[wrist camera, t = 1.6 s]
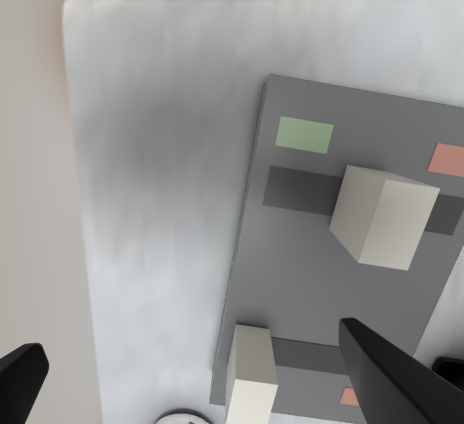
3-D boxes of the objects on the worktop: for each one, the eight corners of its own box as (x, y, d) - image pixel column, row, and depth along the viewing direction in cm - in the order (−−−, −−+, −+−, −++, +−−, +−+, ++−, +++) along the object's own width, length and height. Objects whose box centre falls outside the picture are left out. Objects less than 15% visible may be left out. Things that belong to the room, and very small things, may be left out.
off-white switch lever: (387, 171, 16) (440, 188, 12) (366, 234, 17) (407, 270, 13) (347, 164, 16) (386, 179, 12) (328, 228, 17) (358, 262, 13)
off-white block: (269, 329, 20) (278, 385, 15) (258, 372, 21) (264, 435, 17) (235, 324, 20) (235, 379, 15) (226, 368, 21) (224, 430, 17)
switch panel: (476, 118, 18) (522, 117, 15) (364, 392, 25) (381, 428, 23) (264, 81, 18) (270, 73, 15) (212, 371, 25) (209, 404, 22)
